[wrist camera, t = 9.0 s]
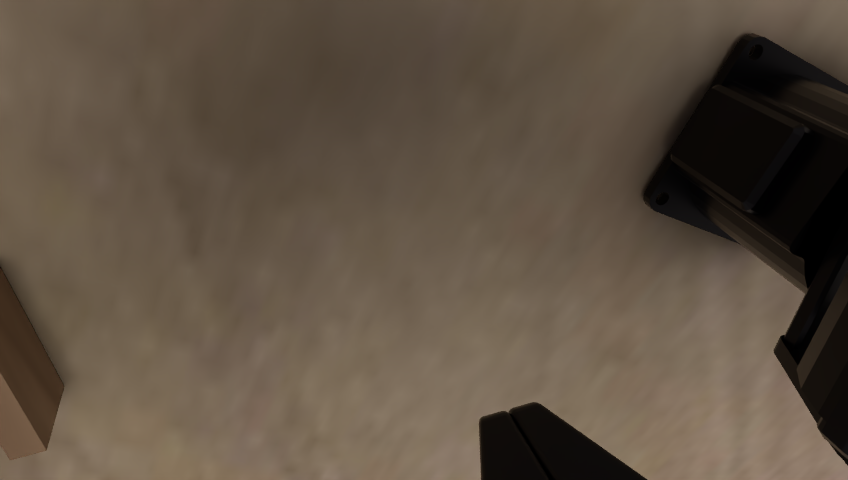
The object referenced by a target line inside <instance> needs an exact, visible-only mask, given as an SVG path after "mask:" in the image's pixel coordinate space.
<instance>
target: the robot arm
mask: <svg viewBox="0 0 848 480" xmlns="http://www.w3.org/2000/svg"><path fill="white" fill-rule="evenodd" d="M754 45H755V49H754V51H753V53H752V54H751V55H750V56H749V52H750V49H751V48H752V47H753V46H754ZM662 192H663V194H662V196H661V197H660V198H659V199H657V200H656V198H657V196H658V195H659V194H660V193H662ZM644 201H645V204H647V205H648V206H649V207H650V208H651V209H653V210H654V211H656V212H659V213H661V214H664V215H667V216H669V217H672V218H674V219H677V220H680V221H682V222H685V223H687V224H690V225H693V226H695V227H698V228H700V229H703V230H705V231H708V232H711V233H713V234H716V235H718V236H721V237H724V238H726V239H729V240H731V241H734V242H737V243H739V244H741V245H742V246H744V247H745V248H746V249H748V250H749V251H750V252H752V253H753V254H754V255H756V256H757V257H758V258H759V259H761V260H762V261H763V262H765V263H766V264H767V265H769V266H770V267H771V268H772V269H774V270H775V271H776V272H778V273H779V274H780V275H782V276H783V277H784V278H786V279H787V280H788V281H789V282H791V283H792V284H793V285H795V286H796V287H797V288H799V289H800V290H801V291H802V292H804V293H805V296H804V298H803V300H802V302H801V304H800V306H799V308H798V310H797V312H796V314H795V316H794V318H793V320H792V322H791V324H790V326H789V328H788V330H787V332H786V334H785V335H782V336H781V337H780V338H779V341H778V343H777V345H776V347H775V349H774V353H775V355H776V357H777V358H778V360H779V362H780V363H781V365H782V367H783V368H784V370H785V371H786V373H787V375H788V376H789V378H790V380H791V381H792V383H793V385H794V386H795V388H796V390H797V391H798V393H799V394H800V396H801V398H802V399H803V401H804V403H805V404H806V406H807V408H808V409H809V411H810V413H811V414H812V416H813V417H814V419H815V421H816V422H817V427H818V429H819V431H820V433H821V434H822V436H823V437H824V439H826V440H827V441H828V442H829V443H830V445H831V446H832V447H833V449H834V450H835V451H836V453H837V454H838V455H839V456H840V457H841V458H842V459H843V460H844V461H845V463H846V464H847V465H848V86H847V85H846V84H844V83H842V82H841V81H839V80H837V79H835V78H834V77H832V76H830V75H829V74H827V73H825V72H823V71H822V70H820V69H818V68H816V67H815V66H813V65H811V64H810V63H808V62H806V61H804V60H803V59H801V58H799V57H798V56H796V55H794V54H792V53H791V52H789V51H787V50H786V49H784V48H782V47H780V46H779V45H777V44H775V43H774V42H772V41H770V40H768V39H767V38H765V37H762V36H759V35H756V34H748V35H746V36H744V37H743V38H741V40H740V41H739V42H738V43H737V45H736V46H735V48H734V50H733V51H732V53H731V54H730V56H729V58H728V59H727V61H726V62H725V64H724V66H723V67H722V69H721V70H720V72H719V74H718V75H717V77H716V78H715V80H714V82H713V83H712V85H711V86H710V88H709V90H708V91H707V93H706V94H705V96H704V98H703V99H702V101H701V102H700V104H699V106H698V107H697V109H696V110H695V112H694V114H693V115H692V117H691V118H690V120H689V122H688V123H687V125H686V126H685V128H684V130H683V131H682V133H681V134H680V136H679V138H678V139H677V141H676V142H675V144H674V146H673V147H672V149H671V150H670V152H669V154H668V155H667V157H666V158H665V160H664V162H663V163H662V165H661V166H660V168H659V170H658V171H657V173H656V174H655V176H654V178H653V179H652V181H651V182H650V184H649V186H648V187H647V189H646V191H645V193H644ZM479 437H480V462H481V480H647V479H646V478H644V477H643V476H641V475H640V474H639V473H637V472H636V471H634V470H633V469H632V468H630V467H629V466H627V465H626V464H625V463H623V462H622V461H620V460H619V459H617V458H616V457H615V456H613V455H612V454H610V453H609V452H608V451H606V450H605V449H603V448H602V447H600V446H599V445H598V444H596V443H595V442H593V441H592V440H591V439H589V438H588V437H586V436H585V435H583V434H582V433H581V432H579V431H578V430H576V429H575V428H574V427H572V426H571V425H569V424H568V423H566V422H565V421H564V420H562V419H561V418H559V417H558V416H557V415H555V414H554V413H552V412H551V411H550V410H548V409H547V408H545V407H544V406H542V405H541V404H539V403H536V402H532V403H528V404H525V405H521V406H518V407H514V408H512V409H510V411H509V413H508V412H506V411H501V412H497V413H494V414H490V415H487V416H483V417H481V418H480V420H479Z"/></svg>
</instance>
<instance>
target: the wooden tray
mask: <svg viewBox="0 0 848 480" xmlns="http://www.w3.org/2000/svg"><path fill="white" fill-rule="evenodd" d="M63 389H64V385H63V383H62V381H61V379H60V378H59V376H58V374H57V372H56V370H55V368H54V366H53V365H52V363H51V361H50V359H49V357H48V355H47V353H46V351H45V350H44V348H43V346H42V344H41V342H40V340H39V338H38V337H37V335H36V333H35V331H34V329H33V327H32V325H31V323H30V322H29V320H28V318H27V316H26V314H25V312H24V310H23V309H22V307H21V305H20V303H19V301H18V299H17V297H16V296H15V294H14V292H13V290H12V288H11V286H10V284H9V282H8V281H7V279H6V277H5V275H4V273H3V271H2V269H1V268H0V445H1V447H2V448H3V450H4V451H5V453H6V454H7V456H8V458H9V459H10V460H13V459H17V458H20V457H24V456H28V455H31V454H35V453H39V452H43V451H46V450H47V447H48V443H49V440H50V436H51V433H52V429H53V425H54V422H55V418H56V415H57V411H58V407H59V404H60V400H61V396H62V393H63Z"/></svg>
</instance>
